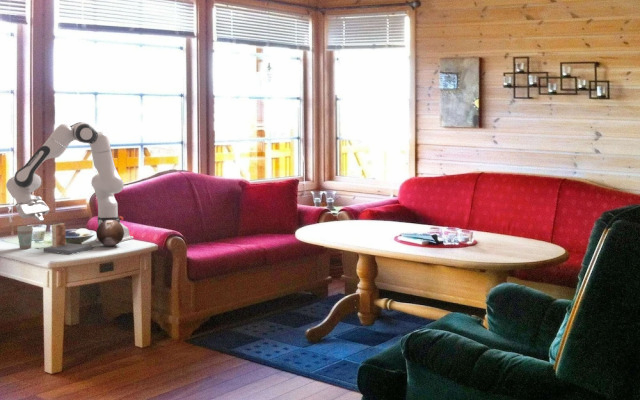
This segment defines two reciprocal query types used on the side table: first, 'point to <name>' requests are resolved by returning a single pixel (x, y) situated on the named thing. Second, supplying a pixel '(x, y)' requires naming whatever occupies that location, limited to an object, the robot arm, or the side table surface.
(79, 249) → the board
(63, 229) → the plaque
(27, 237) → the coffee cup
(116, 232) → the wooden sphere
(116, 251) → the side table surface
